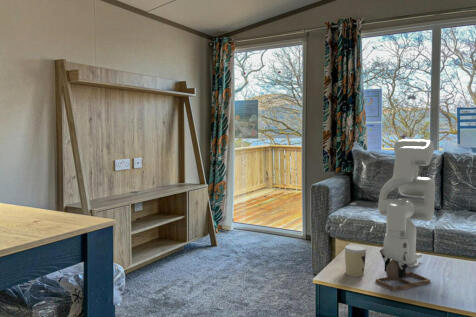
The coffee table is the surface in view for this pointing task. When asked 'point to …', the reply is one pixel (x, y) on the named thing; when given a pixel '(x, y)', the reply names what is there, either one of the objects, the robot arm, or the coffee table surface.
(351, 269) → the coffee cup
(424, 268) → the coffee table surface
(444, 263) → the coffee table surface
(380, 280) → the frame
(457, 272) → the coffee table surface
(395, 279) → the vase
